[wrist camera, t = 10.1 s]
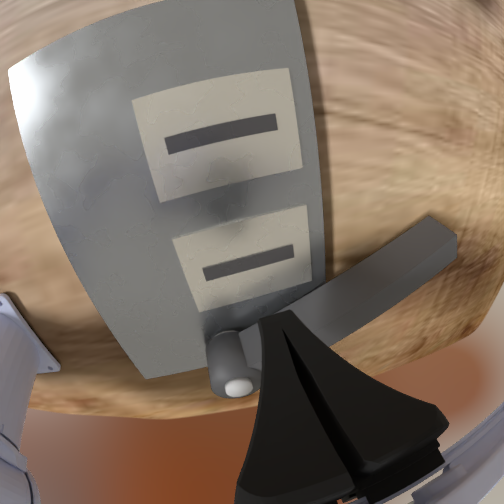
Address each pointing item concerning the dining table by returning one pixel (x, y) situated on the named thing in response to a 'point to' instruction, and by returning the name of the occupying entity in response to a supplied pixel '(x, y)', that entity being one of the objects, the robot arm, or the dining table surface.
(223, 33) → the plate
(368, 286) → the cable arm
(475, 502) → the robot arm
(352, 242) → the dining table surface
